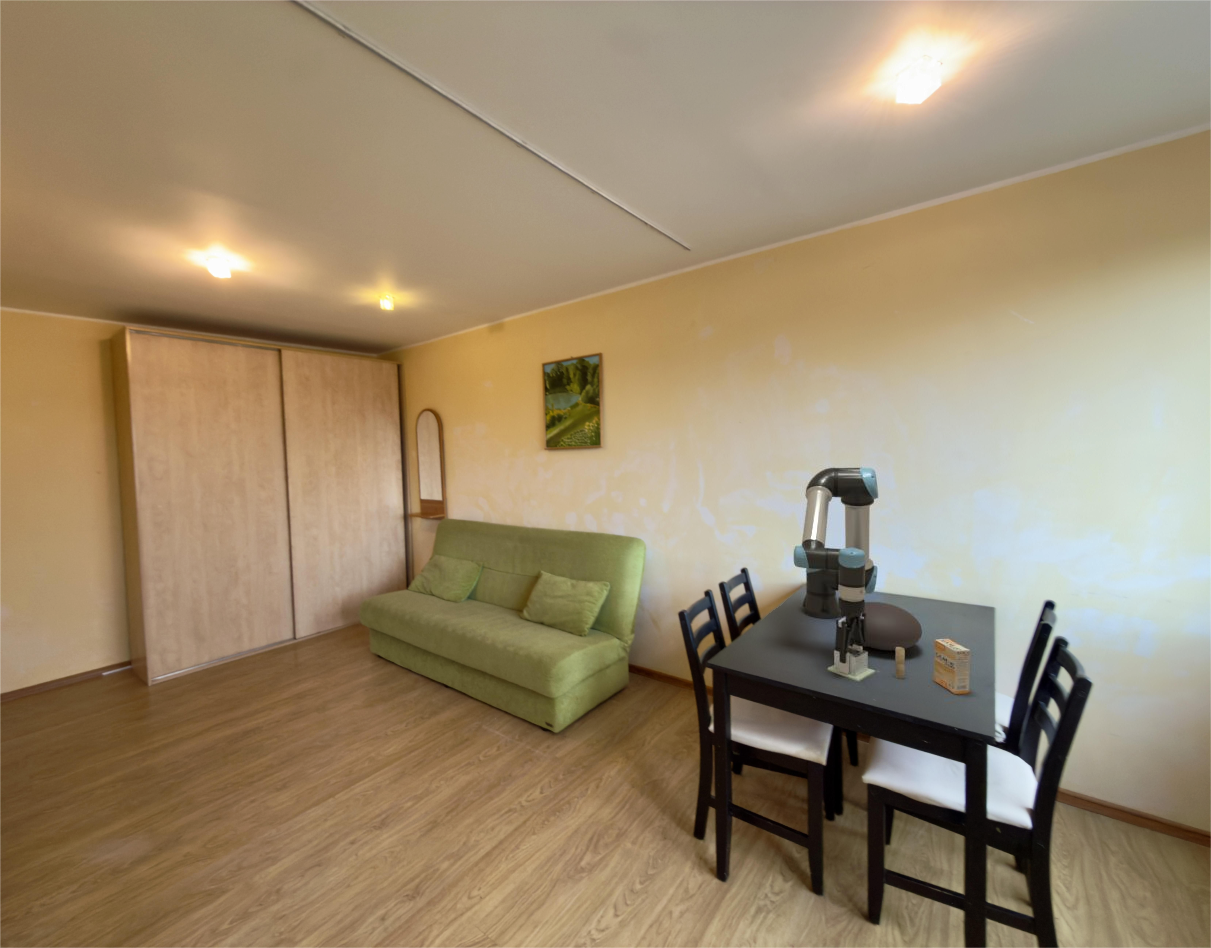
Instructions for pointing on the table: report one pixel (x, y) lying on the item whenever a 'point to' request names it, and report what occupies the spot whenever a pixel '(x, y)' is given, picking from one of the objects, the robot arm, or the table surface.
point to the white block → (854, 661)
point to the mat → (856, 678)
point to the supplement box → (952, 666)
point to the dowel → (899, 662)
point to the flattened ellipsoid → (890, 627)
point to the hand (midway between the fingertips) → (850, 668)
